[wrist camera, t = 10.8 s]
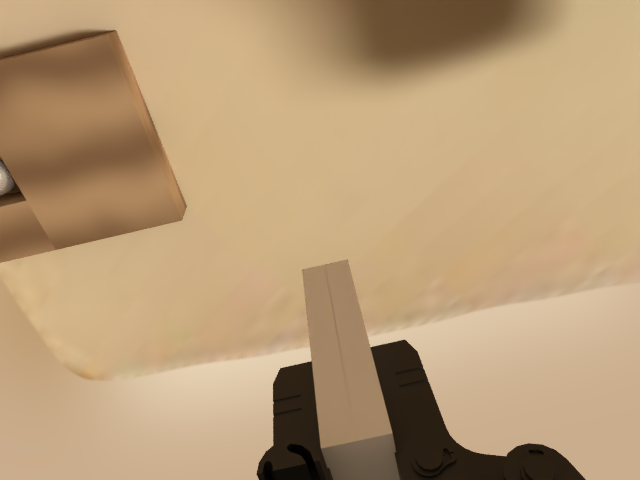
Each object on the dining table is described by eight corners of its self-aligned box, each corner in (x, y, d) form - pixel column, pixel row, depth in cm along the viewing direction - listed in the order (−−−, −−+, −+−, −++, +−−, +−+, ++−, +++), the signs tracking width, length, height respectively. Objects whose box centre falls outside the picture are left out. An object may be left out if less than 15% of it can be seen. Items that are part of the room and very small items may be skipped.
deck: (-131, 90, 34) (-158, 99, 31) (116, 30, 33) (105, 35, 31) (-18, 254, 41) (-34, 270, 38) (186, 206, 40) (182, 220, 38)
